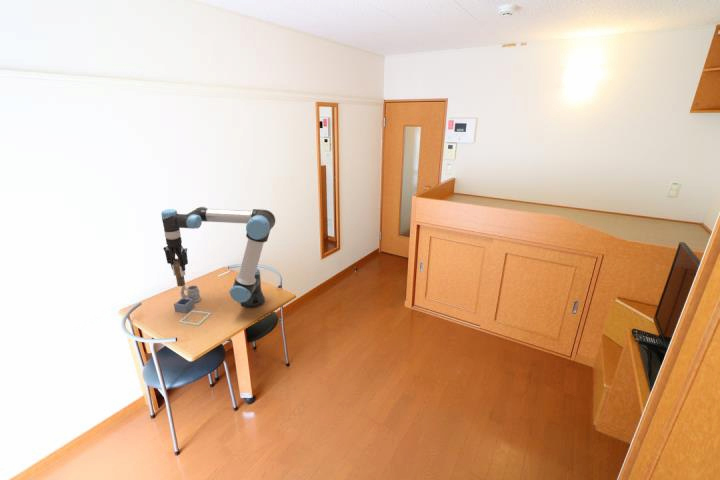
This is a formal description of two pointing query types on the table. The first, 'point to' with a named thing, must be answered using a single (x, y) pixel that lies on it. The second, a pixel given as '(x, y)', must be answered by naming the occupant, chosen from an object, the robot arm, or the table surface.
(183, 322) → the tray
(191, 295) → the mug
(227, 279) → the table surface
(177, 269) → the dowel
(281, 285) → the table surface
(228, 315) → the table surface
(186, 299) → the grey open box
